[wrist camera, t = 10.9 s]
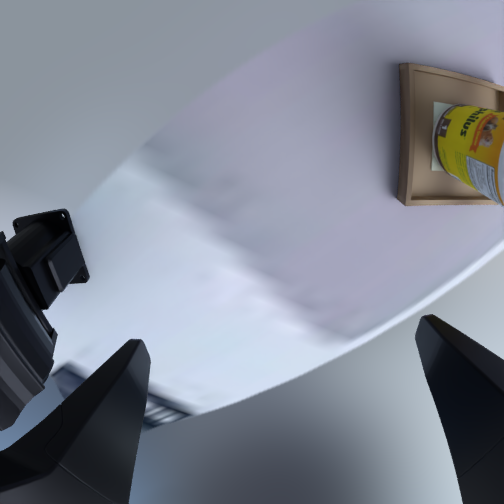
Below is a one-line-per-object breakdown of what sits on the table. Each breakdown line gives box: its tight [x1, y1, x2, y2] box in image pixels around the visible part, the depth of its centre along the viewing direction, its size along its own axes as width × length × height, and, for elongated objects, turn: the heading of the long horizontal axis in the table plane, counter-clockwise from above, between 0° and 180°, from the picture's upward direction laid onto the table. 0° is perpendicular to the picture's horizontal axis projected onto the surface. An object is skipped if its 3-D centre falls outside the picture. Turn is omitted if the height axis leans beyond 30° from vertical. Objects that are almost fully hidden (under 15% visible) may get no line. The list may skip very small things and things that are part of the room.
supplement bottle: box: [432, 104, 504, 207], centre depth 13 cm, size 6×6×10 cm
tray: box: [397, 63, 504, 206], centre depth 17 cm, size 10×10×1 cm
